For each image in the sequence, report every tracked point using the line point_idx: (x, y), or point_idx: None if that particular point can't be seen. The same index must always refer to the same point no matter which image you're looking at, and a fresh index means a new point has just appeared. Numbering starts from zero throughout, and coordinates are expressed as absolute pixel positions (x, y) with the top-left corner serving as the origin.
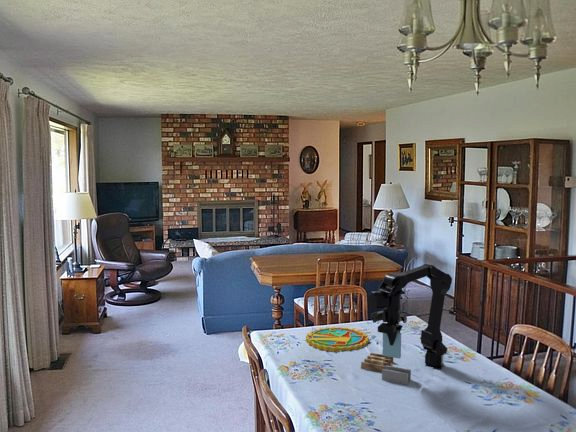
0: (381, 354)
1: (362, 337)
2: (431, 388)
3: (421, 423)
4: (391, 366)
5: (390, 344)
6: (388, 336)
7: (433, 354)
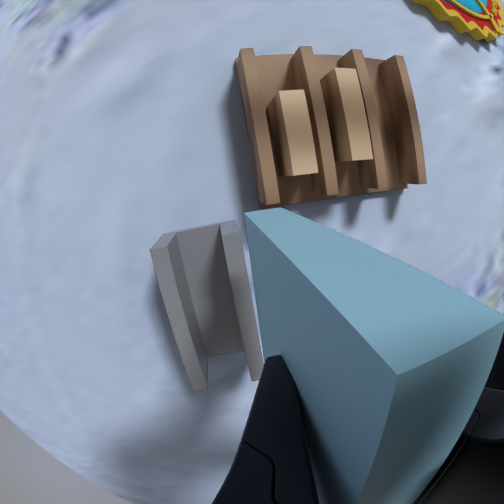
0: (416, 114)
1: (483, 17)
2: (238, 418)
3: (37, 435)
4: (241, 275)
5: (265, 367)
6: (234, 473)
7: None
